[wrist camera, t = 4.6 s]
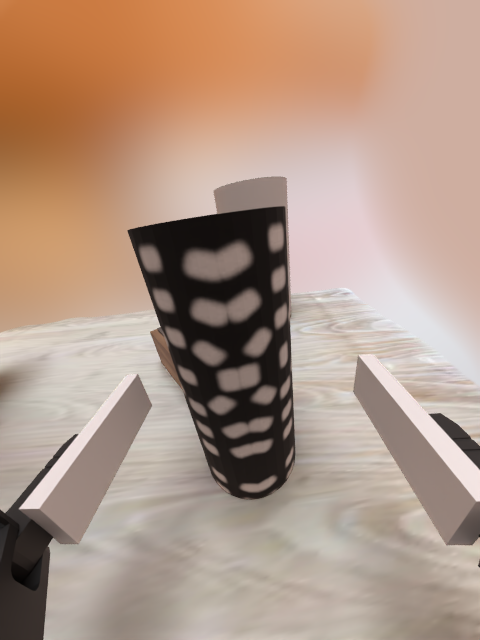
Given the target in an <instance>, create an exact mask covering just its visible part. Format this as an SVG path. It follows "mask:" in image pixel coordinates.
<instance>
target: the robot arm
mask: <svg viewBox="0 0 480 640" xmlns="http://www.w3.org/2000/svg"><path fill="white" fill-rule="evenodd" d="M353 392H354V394H355V395H356V397H357V398H358V400H359V402H360V403H361V405H362V407H363V408H364V410H365V412H366V413H367V415H368V417H369V418H370V420H371V422H372V423H373V425H374V427H375V428H376V430H377V431H378V433H379V435H380V436H381V438H382V440H383V441H384V443H385V445H386V446H387V448H388V450H389V451H390V453H391V455H392V456H393V458H394V460H395V461H396V463H397V464H398V466H399V468H400V469H401V471H402V473H403V474H404V476H405V478H406V479H407V481H408V483H409V484H410V486H411V488H412V489H413V491H414V493H415V494H416V496H417V497H418V499H419V501H420V502H421V504H422V506H423V507H424V509H425V511H426V512H427V514H428V516H429V517H430V519H431V521H432V522H433V524H434V526H435V527H436V529H437V530H438V532H439V534H440V535H441V537H442V539H443V540H444V542H445V544H446V545H473V544H474V542H475V541H476V540H477V539H478V538H479V537H480V446H479V445H478V444H477V443H476V442H475V441H474V440H472V439H471V437H470V436H469V435H468V434H467V433H466V432H465V431H464V430H463V429H462V428H461V427H460V426H459V425H458V424H456V423H455V422H453V421H452V420H450V419H449V418H447V417H445V416H444V415H442V414H441V413H437V414H428V413H427V412H426V411H425V410H424V409H423V408H422V407H421V406H420V405H419V403H418V402H417V401H416V400H415V399H414V398H413V397H412V396H411V395H410V394H409V393H408V392H407V390H406V389H405V388H404V387H403V386H402V385H401V384H400V383H399V382H398V381H397V380H396V379H395V377H394V376H393V375H392V374H391V373H390V372H389V371H388V370H387V369H386V368H385V367H384V366H383V364H382V363H381V362H380V361H379V360H378V359H377V358H376V357H375V356H374V355H373V354H365V355H358V361H357V368H356V376H355V383H354V391H353ZM151 407H152V404H151V402H150V400H149V398H148V395H147V393H146V391H145V389H144V386H143V384H142V382H141V380H140V378H139V375H138V374H130V375H126V376H125V377H124V378H123V380H122V381H121V382H120V383H119V385H118V386H117V387H116V388H115V390H114V391H113V392H112V393H111V395H110V396H109V397H108V398H107V400H106V401H105V402H104V403H103V405H102V406H101V407H100V408H99V410H98V411H97V412H96V413H95V415H94V416H93V417H92V418H91V420H90V421H89V422H88V423H87V425H86V426H85V427H84V428H83V430H82V431H81V432H80V433H79V434H75V435H74V436H73V437H72V438H70V439H69V440H68V441H67V442H66V443H65V444H63V445H62V447H61V448H60V449H59V450H58V451H57V453H56V454H55V455H54V456H53V459H51V460H50V461H49V462H48V463H47V465H46V466H45V468H44V469H42V471H41V472H40V473H39V474H38V475H37V477H36V478H35V479H34V480H33V481H32V483H31V484H30V485H29V486H28V487H27V489H26V490H25V491H24V492H23V493H22V495H21V496H20V497H19V498H18V499H17V501H16V502H15V503H14V504H13V505H12V507H11V508H10V509H9V510H8V511H7V512H6V513H4V512H2V511H1V510H0V640H43V635H44V623H45V611H46V598H47V586H48V573H49V561H50V550H49V547H48V545H49V543H50V541H51V540H52V538H54V539H55V540H57V541H58V542H59V543H60V544H79V543H80V541H81V539H82V537H83V535H84V533H85V531H86V529H87V528H88V526H89V524H90V522H91V520H92V518H93V516H94V514H95V512H96V511H97V509H98V507H99V505H100V503H101V501H102V499H103V497H104V495H105V494H106V492H107V490H108V488H109V486H110V484H111V482H112V480H113V478H114V477H115V475H116V473H117V471H118V469H119V467H120V465H121V463H122V461H123V460H124V458H125V456H126V454H127V452H128V450H129V448H130V446H131V444H132V442H133V441H134V439H135V437H136V435H137V433H138V431H139V429H140V427H141V425H142V424H143V422H144V420H145V418H146V416H147V414H148V412H149V410H150V408H151ZM478 566H479V567H480V561H479V565H478Z"/></svg>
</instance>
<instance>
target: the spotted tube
mask: <svg viewBox="0 0 480 640" xmlns="http://www.w3.org/2000/svg"><path fill="white" fill-rule="evenodd" d="M128 234H129V236H130V239H131V242H132V245H133V248H134V251H135V254H136V257H137V259H138V263H139V265H140V268H141V271H142V274H143V277H144V279H145V282H146V286H147V288H148V291H149V294H150V297H151V300H152V303H153V306H154V309H155V312H156V314H157V317H158V320H159V323H160V326H161V329H162V332H163V335H164V338H165V340H166V343H167V346H168V349H169V352H170V355H171V358H172V361H173V364H174V366H175V369H176V372H177V375H178V378H179V381H180V384H181V387H182V390H183V392H184V395H185V398H186V401H187V404H188V407H189V410H190V413H191V415H192V418H193V421H194V424H195V427H196V430H197V433H198V436H199V439H200V441H201V444H202V447H203V450H204V453H205V456H206V459H207V462H208V465H209V467H210V470H211V473H212V475H213V477H214V479H215V481H216V482H217V483H218V484H219V486H220V487H221V488H222V489H223V490H225V491H226V492H228V493H229V494H231V495H233V496H236V497H239V498H244V499H256V498H262V497H264V496H267V495H269V494H272V493H273V492H274V491H276V490H277V489H279V488H280V487H281V486H282V485H283V484H284V482H285V481H286V480H287V478H288V477H289V475H290V473H291V471H292V468H293V465H294V460H295V437H294V412H293V387H292V361H291V336H290V311H289V286H288V261H287V236H286V210H285V206H277V207H267V208H258V209H250V210H242V211H235V212H228V213H221V214H214V215H207V216H201V217H195V218H188V219H182V220H177V221H170V222H165V223H159V224H154V225H149V226H144V227H138V228H135V229H130V230H128Z"/></svg>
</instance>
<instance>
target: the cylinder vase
mask: <svg viewBox="0 0 480 640" xmlns="http://www.w3.org/2000/svg"><path fill="white" fill-rule="evenodd" d="M286 184H287V181H286V178H285V177H264V178H256V179H250V180H244V181H240V182H235V183H231V184H228V185H225V186H222V187H219V188H217V189H216V190H214V196H215V202H216V208H217V214H221V213H228V212H235V211H242V210H250V209H258V208H267V207H277V206H285V210H286V236H287V261H288V286H289V311H290V315H291V292H290V266H289V237H288V209H287V185H286Z"/></svg>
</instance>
